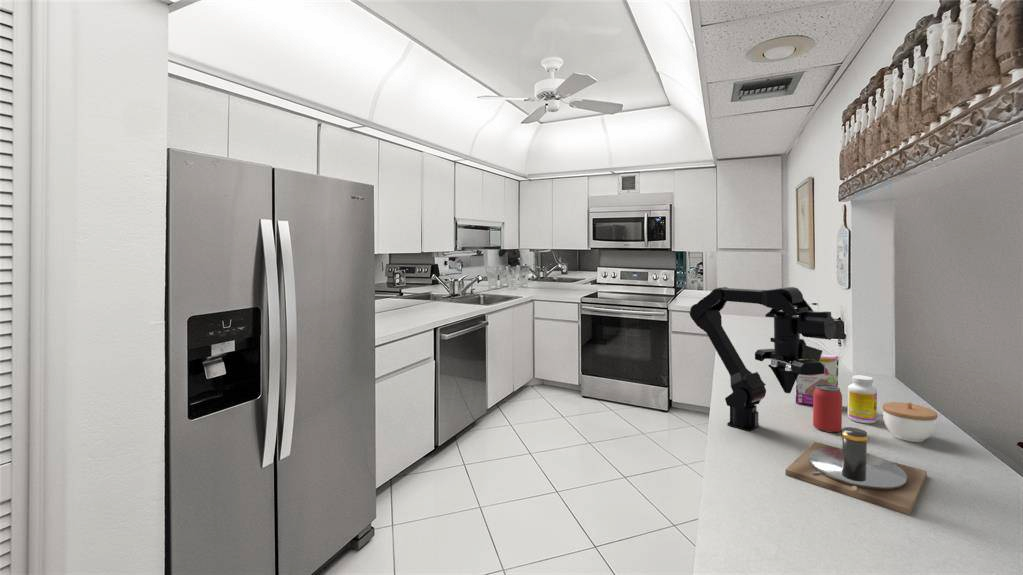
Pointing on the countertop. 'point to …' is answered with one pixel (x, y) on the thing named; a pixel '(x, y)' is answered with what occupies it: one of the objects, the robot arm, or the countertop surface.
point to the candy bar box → (817, 379)
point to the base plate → (890, 499)
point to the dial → (857, 464)
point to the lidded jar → (909, 421)
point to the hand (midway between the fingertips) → (787, 392)
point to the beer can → (827, 408)
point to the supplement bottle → (862, 400)
